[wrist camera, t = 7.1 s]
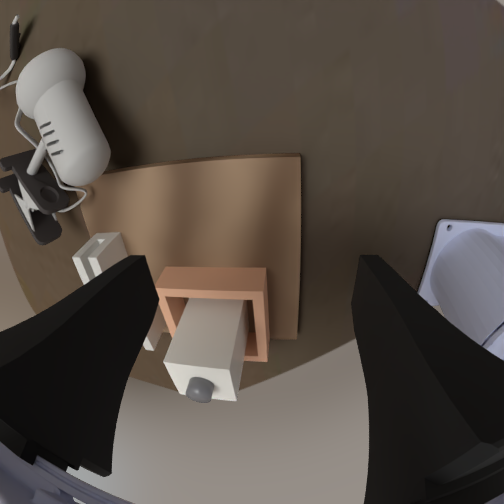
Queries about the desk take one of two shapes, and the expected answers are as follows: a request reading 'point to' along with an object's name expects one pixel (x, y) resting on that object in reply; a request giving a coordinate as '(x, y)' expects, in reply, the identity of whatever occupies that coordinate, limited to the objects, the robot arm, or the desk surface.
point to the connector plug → (209, 349)
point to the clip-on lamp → (52, 138)
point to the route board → (210, 220)
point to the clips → (103, 257)
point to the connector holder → (218, 297)
